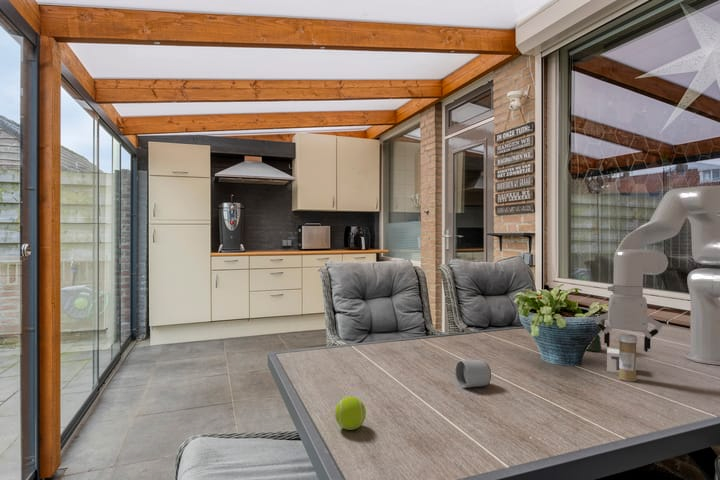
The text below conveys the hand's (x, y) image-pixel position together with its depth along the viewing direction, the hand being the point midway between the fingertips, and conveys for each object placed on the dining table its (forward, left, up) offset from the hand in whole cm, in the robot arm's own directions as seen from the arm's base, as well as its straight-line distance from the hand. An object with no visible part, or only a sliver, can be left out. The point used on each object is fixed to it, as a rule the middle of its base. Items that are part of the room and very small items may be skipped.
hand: (626, 348), depth 128 cm
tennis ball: (+88, -1, -10) cm, 88 cm away
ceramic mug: (+46, -14, -10) cm, 49 cm away
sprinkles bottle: (-1, 0, -10) cm, 10 cm away
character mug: (-18, -28, -10) cm, 34 cm away
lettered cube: (-6, -8, -10) cm, 14 cm away
